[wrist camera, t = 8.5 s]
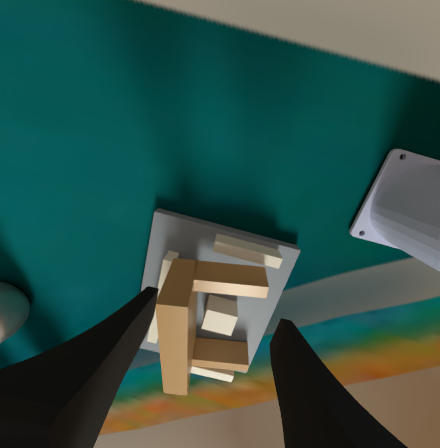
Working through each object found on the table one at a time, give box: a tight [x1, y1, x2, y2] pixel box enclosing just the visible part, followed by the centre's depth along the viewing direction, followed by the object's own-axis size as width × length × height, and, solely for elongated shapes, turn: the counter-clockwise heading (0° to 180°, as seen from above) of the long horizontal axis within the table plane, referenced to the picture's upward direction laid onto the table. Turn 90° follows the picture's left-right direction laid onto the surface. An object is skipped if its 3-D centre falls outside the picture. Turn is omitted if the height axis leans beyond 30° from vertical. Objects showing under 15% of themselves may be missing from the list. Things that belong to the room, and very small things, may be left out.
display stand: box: [140, 208, 300, 382], centre depth 22 cm, size 14×17×3 cm
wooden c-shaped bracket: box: [155, 258, 269, 395], centre depth 19 cm, size 8×12×5 cm, turn 175°
